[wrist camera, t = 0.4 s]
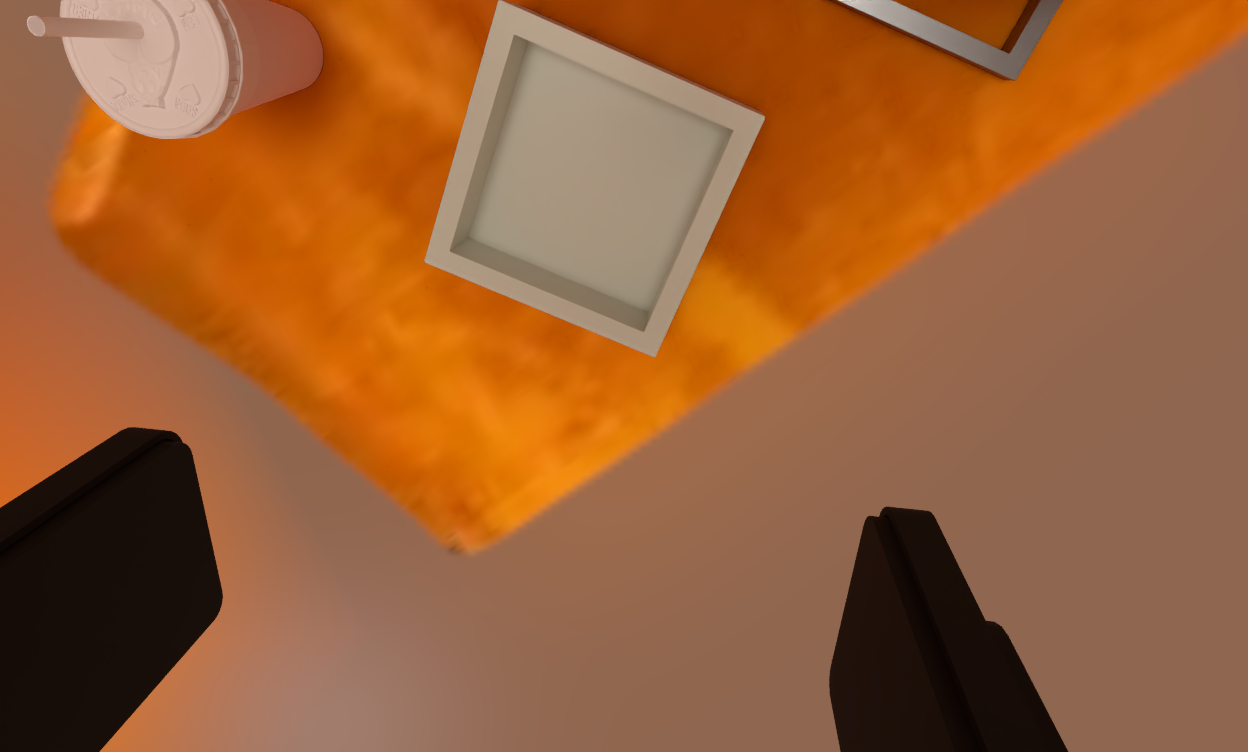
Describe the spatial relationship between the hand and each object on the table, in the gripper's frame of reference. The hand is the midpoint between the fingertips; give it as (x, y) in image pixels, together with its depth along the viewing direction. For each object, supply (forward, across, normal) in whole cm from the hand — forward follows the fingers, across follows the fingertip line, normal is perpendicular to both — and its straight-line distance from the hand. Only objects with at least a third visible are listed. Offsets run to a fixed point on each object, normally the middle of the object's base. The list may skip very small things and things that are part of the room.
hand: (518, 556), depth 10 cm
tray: (+28, +3, 0) cm, 28 cm away
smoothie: (+28, +18, -6) cm, 34 cm away
